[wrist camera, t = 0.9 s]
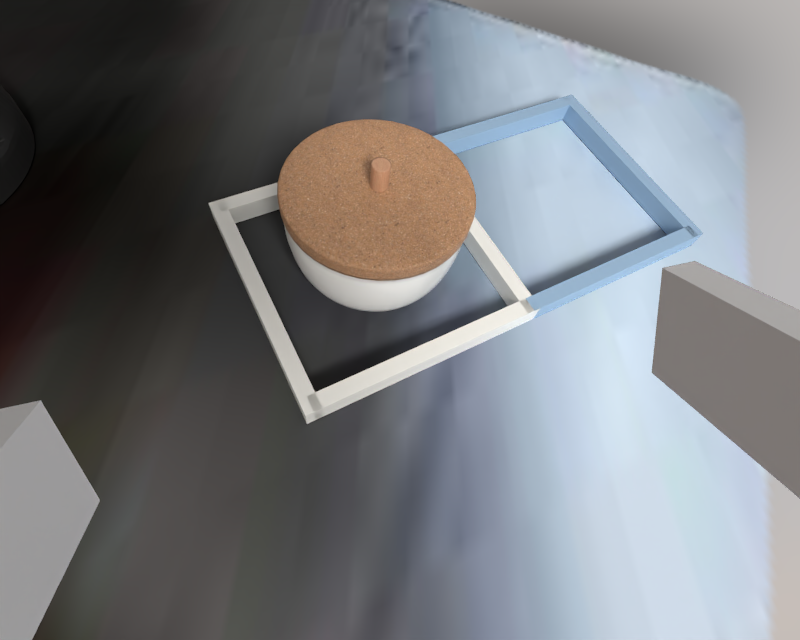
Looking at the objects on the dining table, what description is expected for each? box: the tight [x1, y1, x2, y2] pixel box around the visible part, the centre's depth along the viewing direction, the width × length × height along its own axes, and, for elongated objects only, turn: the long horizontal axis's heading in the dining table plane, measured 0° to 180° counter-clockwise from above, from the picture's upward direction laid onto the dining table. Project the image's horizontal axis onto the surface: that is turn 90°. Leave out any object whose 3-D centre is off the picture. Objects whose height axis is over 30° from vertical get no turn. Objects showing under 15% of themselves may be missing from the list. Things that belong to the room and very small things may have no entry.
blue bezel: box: [433, 95, 703, 319], centre depth 37 cm, size 16×16×2 cm
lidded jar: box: [277, 119, 476, 312], centre depth 29 cm, size 11×11×9 cm
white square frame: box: [209, 182, 540, 424], centre depth 33 cm, size 16×16×2 cm
